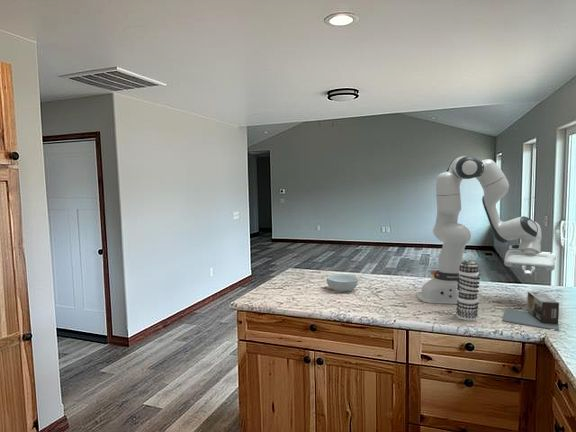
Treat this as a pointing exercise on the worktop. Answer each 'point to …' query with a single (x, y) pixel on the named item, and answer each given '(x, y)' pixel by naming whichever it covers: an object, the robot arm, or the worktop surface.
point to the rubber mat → (525, 319)
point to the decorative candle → (468, 290)
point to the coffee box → (543, 307)
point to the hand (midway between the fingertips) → (527, 274)
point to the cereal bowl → (342, 282)
